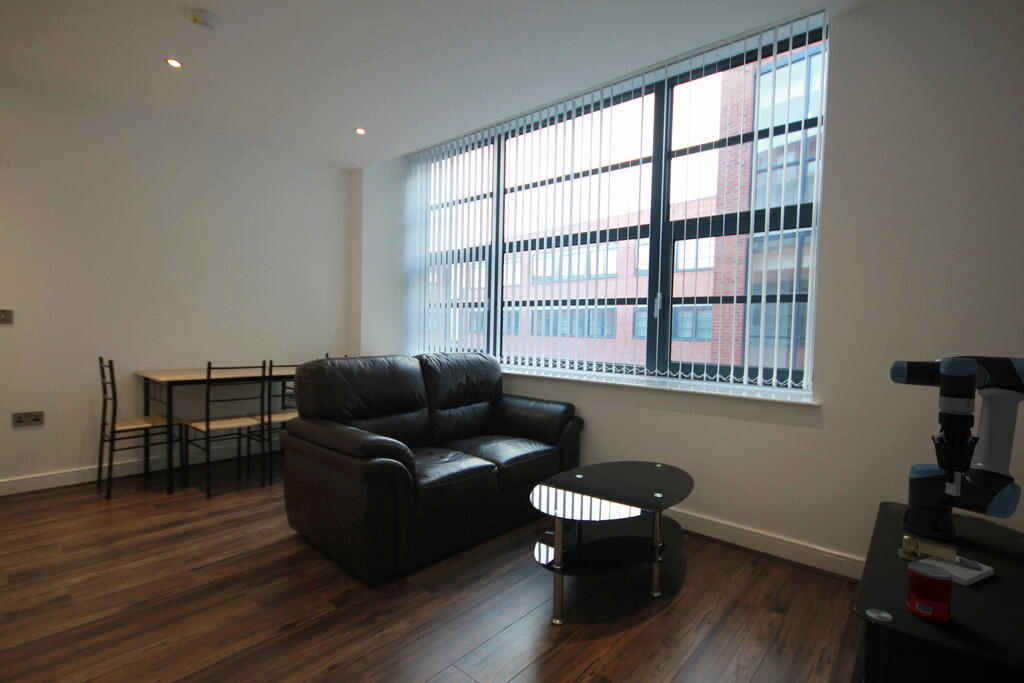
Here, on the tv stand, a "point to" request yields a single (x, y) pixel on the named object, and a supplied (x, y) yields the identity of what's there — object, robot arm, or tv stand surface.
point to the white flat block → (961, 569)
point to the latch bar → (927, 548)
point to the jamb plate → (909, 556)
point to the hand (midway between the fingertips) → (952, 494)
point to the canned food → (929, 591)
